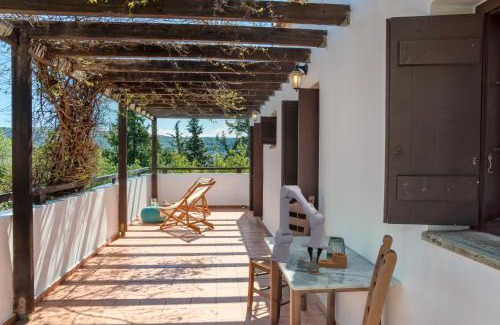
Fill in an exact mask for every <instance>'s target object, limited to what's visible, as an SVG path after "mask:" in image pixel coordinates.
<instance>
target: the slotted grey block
mask: <svg viewBox="0 0 500 325" xmlns="http://www.w3.org/2000/svg"><path fill="white" fill-rule="evenodd" d="M316 262H317V256H312V264H311V265H309V269H308V270H309V271H310V272H311V270H316V272H317V273H318V272H319V271H320V267H319V266H318V265H317V263H316Z"/></svg>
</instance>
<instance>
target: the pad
mask: <svg viewBox="0 0 500 325" xmlns="http://www.w3.org/2000/svg"><path fill="white" fill-rule="evenodd" d="M320 273H321V270H319V272H318V273H317V272H316V269H312V270H311V272H310V271H309V269H308V270H307V271H306V274H311V275H316V274H317V276H319V275H320Z"/></svg>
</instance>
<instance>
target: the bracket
mask: <svg viewBox="0 0 500 325" xmlns="http://www.w3.org/2000/svg"><path fill="white" fill-rule="evenodd" d="M347 263H348V255H347V254H346V253H344V252H332V254H331V259H326V258H325V259H322V258H319V260H318V263H317V265H318V266H319V268H320V267H325V268H324V269H347V265H348V264H347Z"/></svg>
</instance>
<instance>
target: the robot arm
mask: <svg viewBox="0 0 500 325" xmlns="http://www.w3.org/2000/svg"><path fill="white" fill-rule="evenodd" d="M279 191H280V192H279V228H278V229H277V230H276V231H275V235H274V243H275V244H273V247H272V258H271V261H272V262H273V261H274V262H279V263H280V262H281V263H289V262H290V261H291V258H290V249H291V248H290V246H291V244H292V243H293V241H294V237H293V231H292V230H291V229H290V202H291V200H292V199H295V200H296V201H297V202H298V204H300V205H301V207H302V211H303V212H304V213H305V215H306V216H307V218H308V222H309V226H310V237H309V242H308V243H307V242H301V245H300V246H301V248H306V250H307V253H308V255H309V260H310V262H312V257H313V252H314V249H316V250H317V251H316V257H317V262H316V263H318V260H319V259H320V257H321V254H322V253H323V250H324V251H330V245H325V244H322V233H323V232H322V231H323V224H324V223H325V220H326V219H325V218H326V217H325V215H324V214H323V213H321V212H319V211H318V210H317V209H316V208H315V206H314V204H313V203H308V200H307V199H306V198H305V197H304V195H303V193H302V190H301V188H300V187H299V185H286V184H285V185H283V186H281V188H280V189H279Z"/></svg>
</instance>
